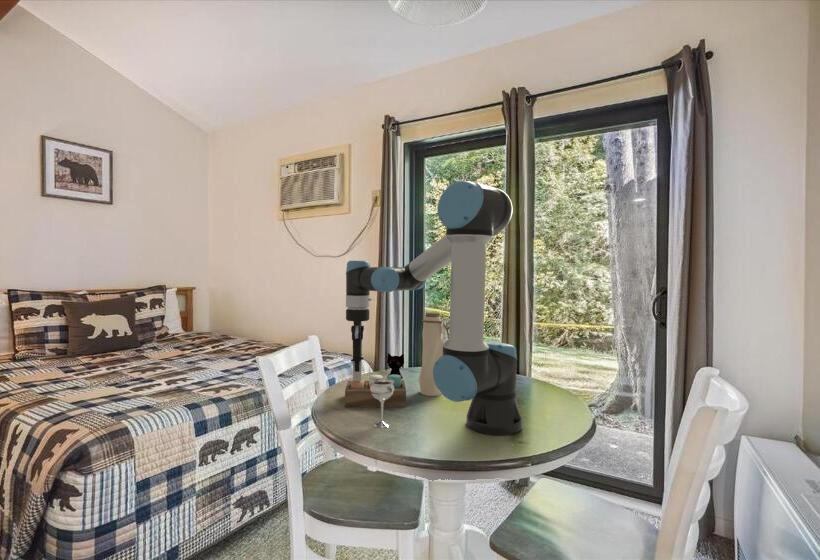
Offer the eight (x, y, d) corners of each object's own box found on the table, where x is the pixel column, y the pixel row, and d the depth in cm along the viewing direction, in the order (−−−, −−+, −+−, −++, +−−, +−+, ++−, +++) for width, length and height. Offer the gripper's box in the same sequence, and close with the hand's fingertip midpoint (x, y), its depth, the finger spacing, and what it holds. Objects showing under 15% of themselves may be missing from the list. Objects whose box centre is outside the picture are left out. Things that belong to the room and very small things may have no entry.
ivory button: (382, 394, 137) (382, 378, 137) (368, 394, 136) (369, 378, 136) (382, 390, 141) (382, 374, 141) (369, 390, 141) (369, 374, 141)
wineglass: (377, 430, 113) (377, 386, 113) (365, 422, 119) (365, 380, 119) (398, 425, 117) (399, 382, 117) (386, 418, 123) (386, 377, 122)
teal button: (401, 393, 137) (401, 377, 137) (387, 394, 137) (387, 378, 137) (400, 390, 142) (400, 374, 141) (387, 390, 141) (387, 374, 141)
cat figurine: (383, 387, 155) (384, 354, 154) (388, 382, 161) (388, 350, 161) (403, 388, 153) (403, 355, 153) (406, 383, 160) (406, 351, 160)
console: (405, 406, 134) (406, 390, 133) (344, 407, 132) (344, 391, 132) (403, 394, 146) (404, 380, 145) (347, 395, 144) (348, 380, 144)
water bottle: (448, 389, 152) (449, 311, 151) (448, 397, 143) (449, 314, 142) (420, 388, 153) (420, 311, 152) (418, 396, 144) (418, 313, 143)
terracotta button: (363, 399, 136) (363, 383, 136) (350, 399, 136) (350, 383, 136) (364, 395, 141) (364, 379, 141) (351, 395, 141) (351, 379, 140)
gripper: (368, 310, 131) (368, 386, 132) (369, 306, 144) (369, 375, 145) (344, 310, 131) (343, 386, 132) (347, 306, 144) (347, 375, 145)
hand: (357, 380), depth 138 cm, fingers closed
